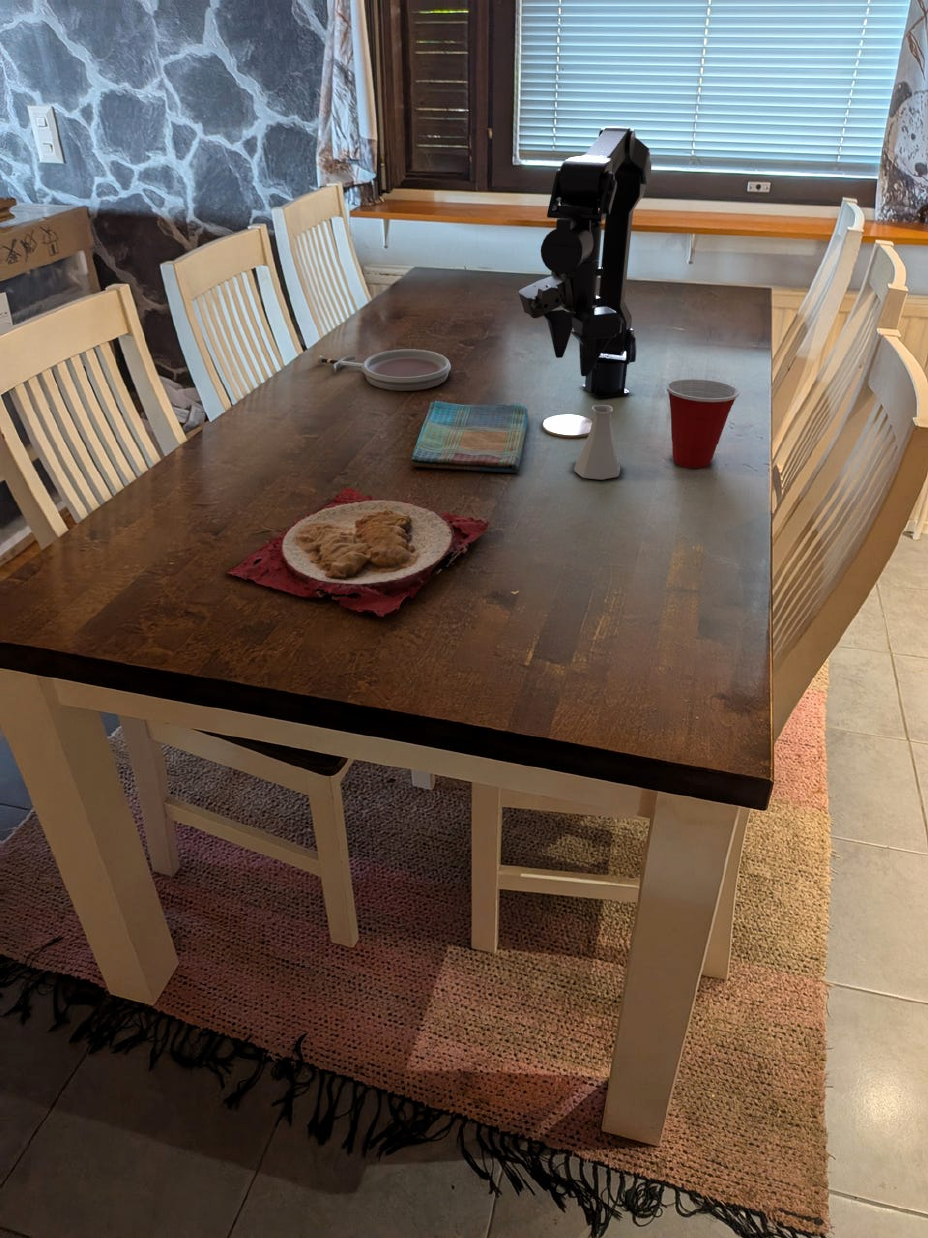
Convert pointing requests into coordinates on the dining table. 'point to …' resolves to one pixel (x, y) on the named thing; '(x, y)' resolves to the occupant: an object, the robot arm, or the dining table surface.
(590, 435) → the flask
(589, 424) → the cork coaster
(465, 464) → the dish towel
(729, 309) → the dining table surface
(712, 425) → the plastic cup
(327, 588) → the plate with food
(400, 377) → the frying pan
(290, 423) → the dining table surface
